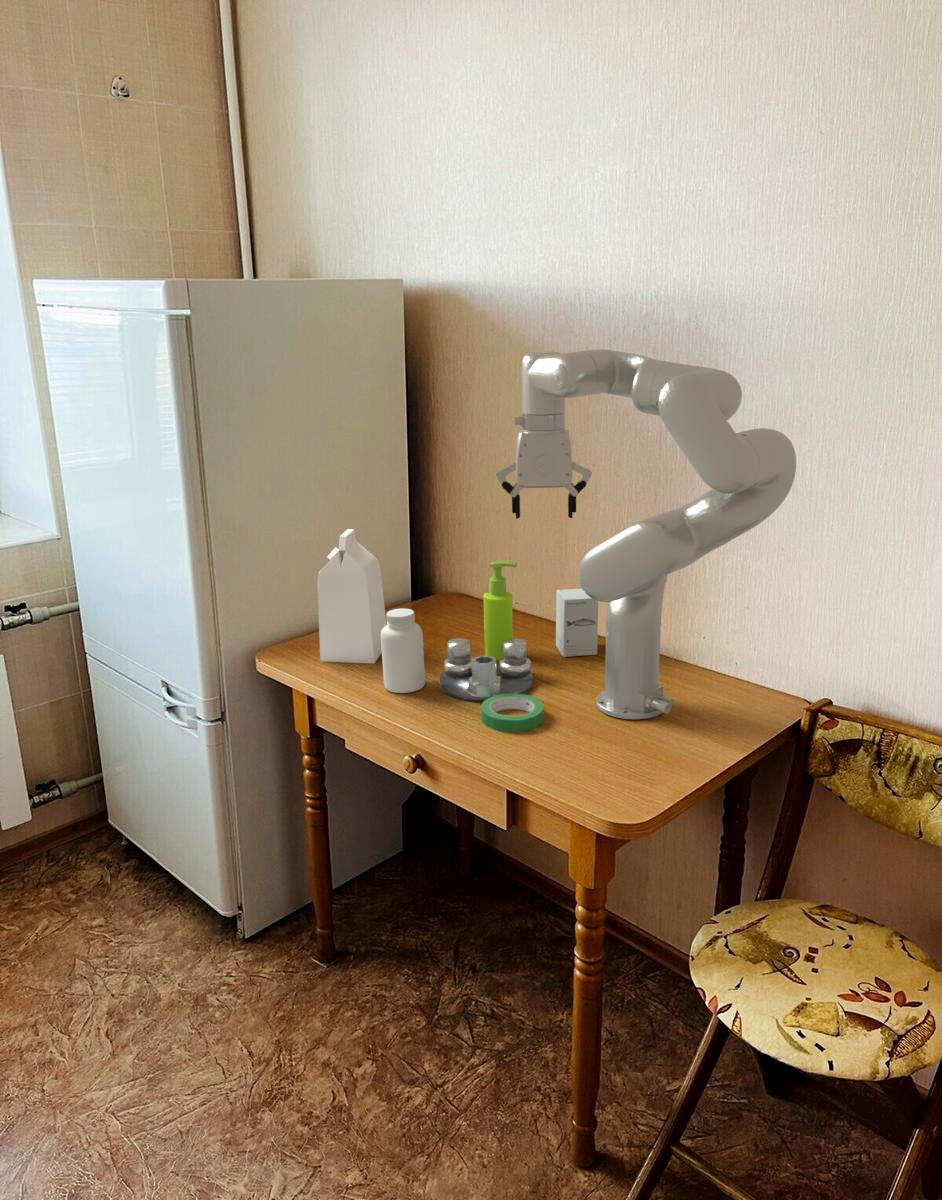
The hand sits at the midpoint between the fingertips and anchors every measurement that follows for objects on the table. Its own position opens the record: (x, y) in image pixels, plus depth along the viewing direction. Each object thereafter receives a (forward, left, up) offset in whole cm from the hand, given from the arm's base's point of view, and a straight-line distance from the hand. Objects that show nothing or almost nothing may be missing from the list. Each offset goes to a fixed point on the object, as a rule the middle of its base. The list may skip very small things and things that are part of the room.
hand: (544, 516), depth 176 cm
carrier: (+6, +10, -32) cm, 34 cm away
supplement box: (+6, -15, -32) cm, 36 cm away
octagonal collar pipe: (+2, +14, -31) cm, 34 cm away
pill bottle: (+16, +22, -32) cm, 42 cm away
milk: (+38, +19, -32) cm, 53 cm away
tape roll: (-9, +17, -33) cm, 38 cm away
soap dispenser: (+15, -2, -32) cm, 36 cm away
